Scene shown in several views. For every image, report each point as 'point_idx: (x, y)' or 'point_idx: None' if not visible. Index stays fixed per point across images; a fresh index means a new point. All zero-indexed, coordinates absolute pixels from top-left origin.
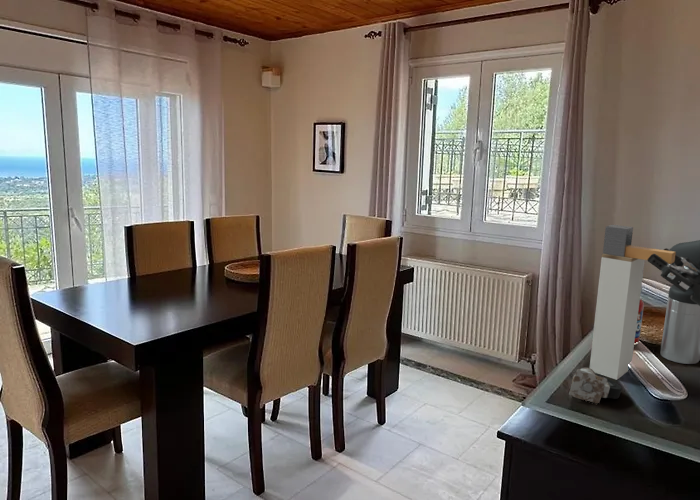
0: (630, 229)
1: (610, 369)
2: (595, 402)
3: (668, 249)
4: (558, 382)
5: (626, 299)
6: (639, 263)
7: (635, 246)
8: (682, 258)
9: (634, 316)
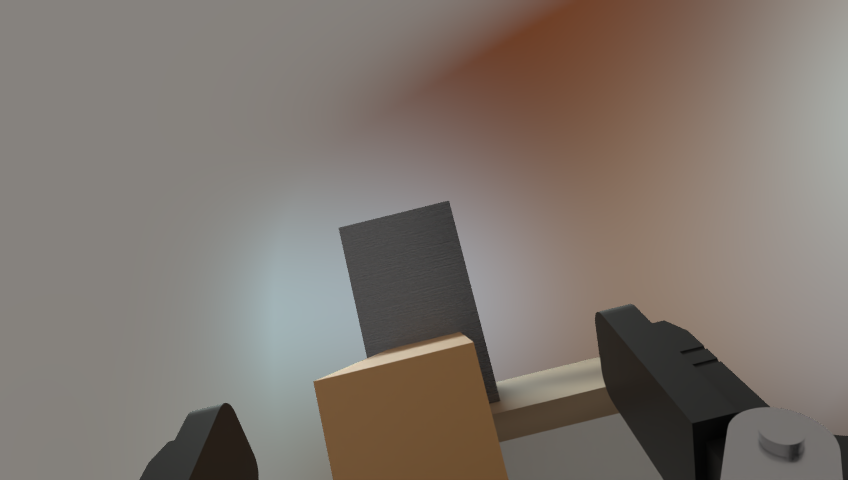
0: (405, 222)
1: None
2: None
3: (625, 315)
4: None
5: None
6: (571, 476)
7: (444, 336)
8: (754, 437)
9: None
